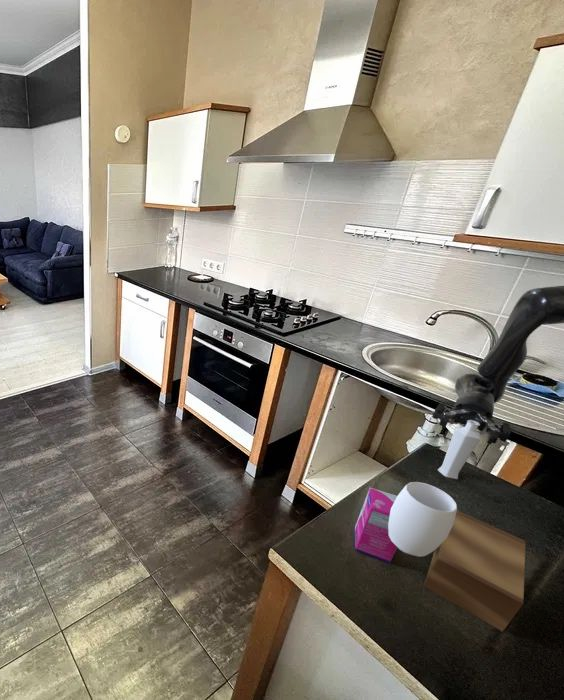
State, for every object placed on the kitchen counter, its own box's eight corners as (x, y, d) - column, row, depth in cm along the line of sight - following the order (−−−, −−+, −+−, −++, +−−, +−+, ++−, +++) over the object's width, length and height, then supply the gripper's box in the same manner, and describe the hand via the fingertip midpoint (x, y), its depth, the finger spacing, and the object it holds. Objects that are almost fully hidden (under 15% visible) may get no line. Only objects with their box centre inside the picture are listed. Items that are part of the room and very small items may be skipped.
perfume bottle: (452, 482, 89) (479, 430, 83) (432, 469, 93) (456, 419, 87) (466, 478, 90) (493, 426, 84) (446, 466, 94) (470, 416, 88)
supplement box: (352, 528, 77) (369, 485, 72) (387, 541, 74) (407, 498, 69) (353, 550, 72) (371, 506, 67) (390, 565, 69) (412, 520, 65)
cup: (360, 559, 70) (397, 473, 62) (408, 576, 67) (453, 489, 59) (365, 593, 64) (406, 503, 56) (417, 613, 61) (469, 522, 53)
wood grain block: (438, 533, 76) (451, 508, 73) (507, 567, 69) (525, 541, 66) (423, 586, 66) (438, 558, 63) (502, 632, 59) (523, 604, 56)
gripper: (445, 387, 106) (435, 408, 96) (517, 407, 96) (514, 433, 86) (435, 409, 109) (425, 432, 99) (503, 431, 99) (500, 459, 89)
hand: (467, 432), depth 92 cm, fingers open, 8 cm apart
